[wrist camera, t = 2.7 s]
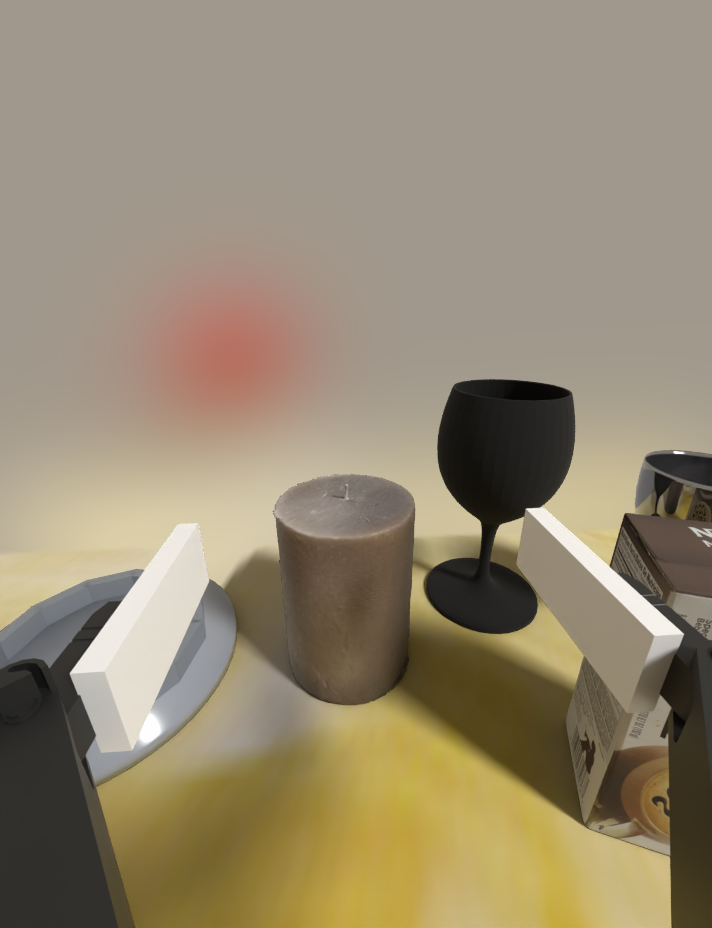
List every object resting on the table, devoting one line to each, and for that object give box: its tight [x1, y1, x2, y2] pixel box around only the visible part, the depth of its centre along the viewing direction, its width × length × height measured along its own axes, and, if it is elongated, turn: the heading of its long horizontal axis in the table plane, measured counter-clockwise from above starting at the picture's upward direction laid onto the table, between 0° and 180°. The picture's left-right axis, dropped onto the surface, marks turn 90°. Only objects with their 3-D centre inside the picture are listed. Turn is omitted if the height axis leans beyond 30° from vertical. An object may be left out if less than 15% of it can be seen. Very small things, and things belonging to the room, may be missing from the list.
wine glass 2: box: [635, 450, 712, 523], centre depth 30 cm, size 8×8×15 cm
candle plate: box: [0, 569, 237, 786], centre depth 30 cm, size 20×20×3 cm
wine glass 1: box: [427, 379, 575, 634], centre depth 33 cm, size 10×10×20 cm
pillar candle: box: [273, 474, 415, 705], centre depth 28 cm, size 10×10×15 cm
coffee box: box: [566, 513, 712, 856], centre depth 19 cm, size 9×6×16 cm
